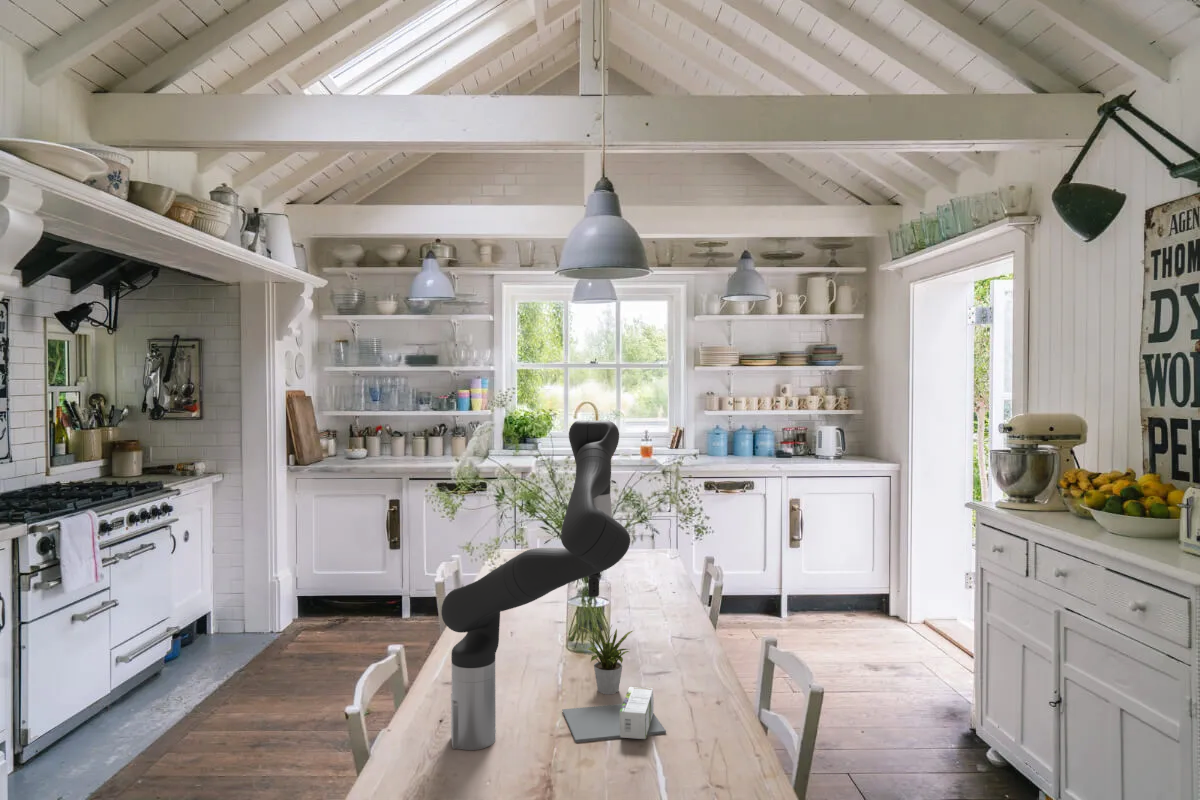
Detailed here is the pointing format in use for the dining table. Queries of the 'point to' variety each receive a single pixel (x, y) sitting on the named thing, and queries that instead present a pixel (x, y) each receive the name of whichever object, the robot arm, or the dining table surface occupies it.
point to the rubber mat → (601, 723)
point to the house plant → (607, 663)
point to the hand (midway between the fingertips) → (593, 595)
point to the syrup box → (636, 713)
